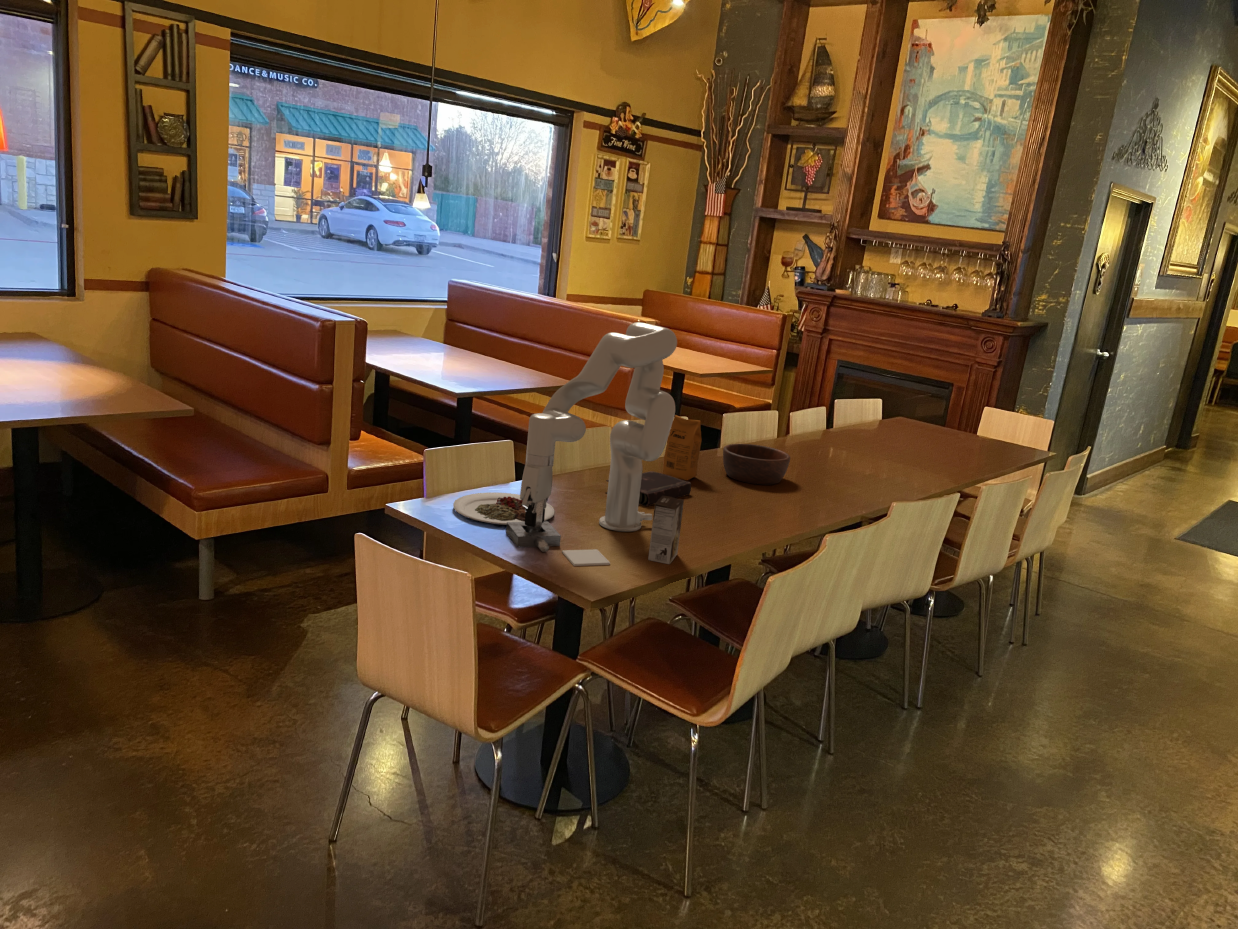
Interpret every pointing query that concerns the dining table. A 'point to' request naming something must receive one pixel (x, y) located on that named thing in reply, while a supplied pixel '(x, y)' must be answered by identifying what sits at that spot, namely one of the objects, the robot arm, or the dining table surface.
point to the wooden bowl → (755, 463)
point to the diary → (660, 487)
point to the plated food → (495, 508)
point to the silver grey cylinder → (539, 517)
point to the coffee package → (682, 449)
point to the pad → (585, 557)
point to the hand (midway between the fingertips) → (534, 523)
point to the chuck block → (533, 535)
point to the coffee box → (666, 529)
